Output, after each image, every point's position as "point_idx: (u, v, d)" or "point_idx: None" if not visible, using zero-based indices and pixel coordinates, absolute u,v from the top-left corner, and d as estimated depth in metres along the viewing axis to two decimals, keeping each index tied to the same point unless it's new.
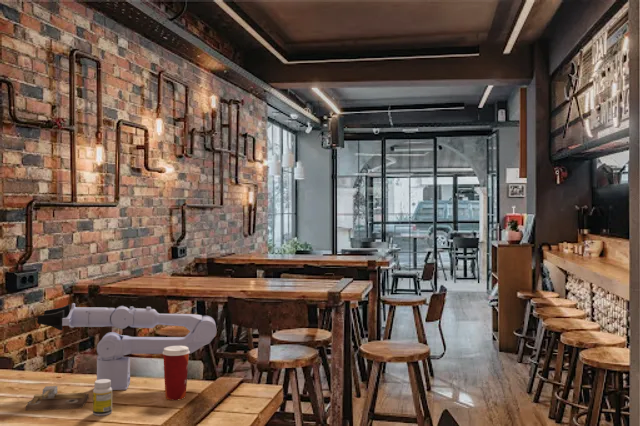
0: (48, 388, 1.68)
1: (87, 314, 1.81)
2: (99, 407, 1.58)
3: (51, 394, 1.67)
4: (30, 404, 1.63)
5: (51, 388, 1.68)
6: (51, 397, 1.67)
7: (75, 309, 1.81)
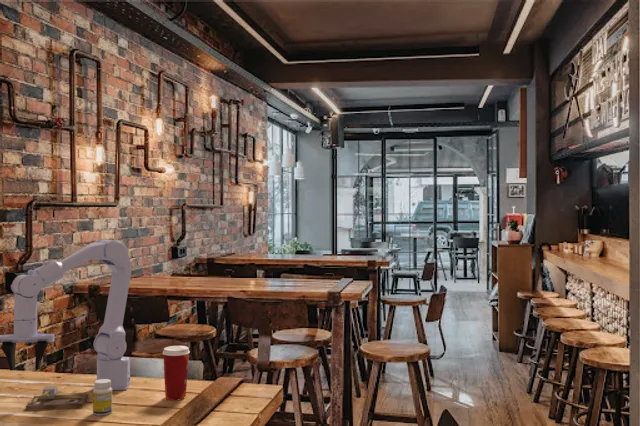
0: (48, 388, 1.68)
1: (34, 320, 1.67)
2: (99, 407, 1.58)
3: (51, 394, 1.67)
4: (30, 404, 1.63)
5: (51, 388, 1.68)
6: (51, 397, 1.67)
7: (27, 335, 1.65)
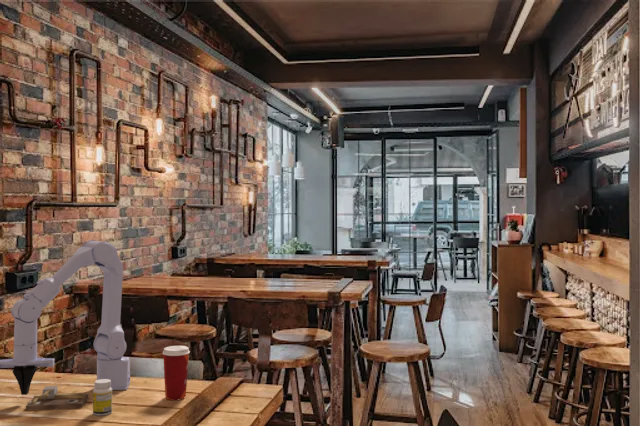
0: (48, 388, 1.68)
1: (34, 345, 1.67)
2: (99, 407, 1.58)
3: (51, 394, 1.67)
4: (30, 404, 1.63)
5: (51, 388, 1.68)
6: (51, 397, 1.67)
7: (27, 360, 1.65)
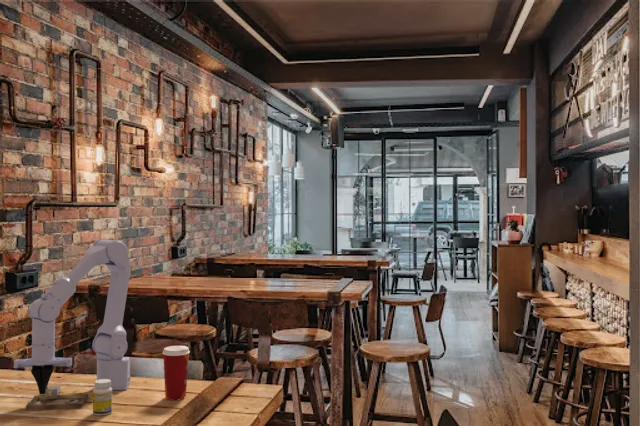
0: (51, 388, 1.68)
1: (52, 345, 1.68)
2: (99, 407, 1.58)
3: (54, 394, 1.67)
4: (30, 404, 1.63)
5: (54, 388, 1.68)
6: (54, 397, 1.67)
7: (46, 359, 1.66)
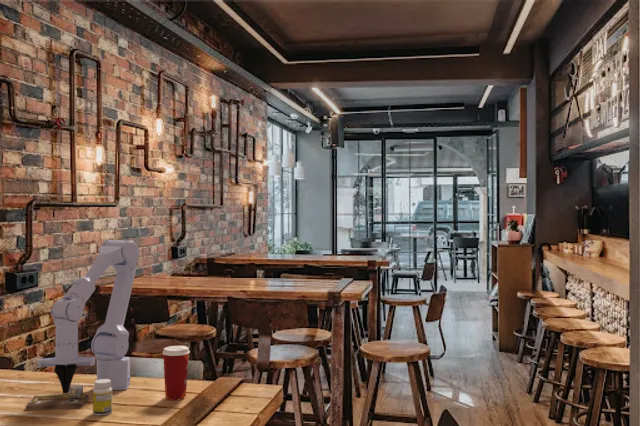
0: (74, 387, 1.69)
1: (75, 344, 1.69)
2: (99, 407, 1.58)
3: (77, 393, 1.68)
4: (30, 404, 1.63)
5: (77, 387, 1.69)
6: (77, 396, 1.68)
7: (69, 358, 1.67)
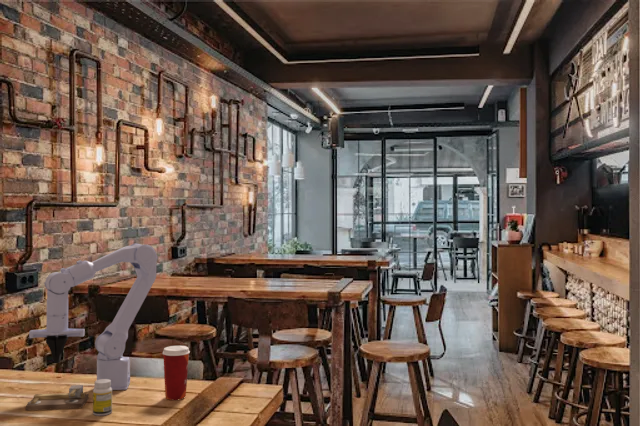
0: (74, 387, 1.69)
1: (65, 316, 1.75)
2: (99, 407, 1.58)
3: (77, 393, 1.68)
4: (30, 404, 1.63)
5: (77, 387, 1.69)
6: (77, 396, 1.68)
7: (60, 329, 1.74)
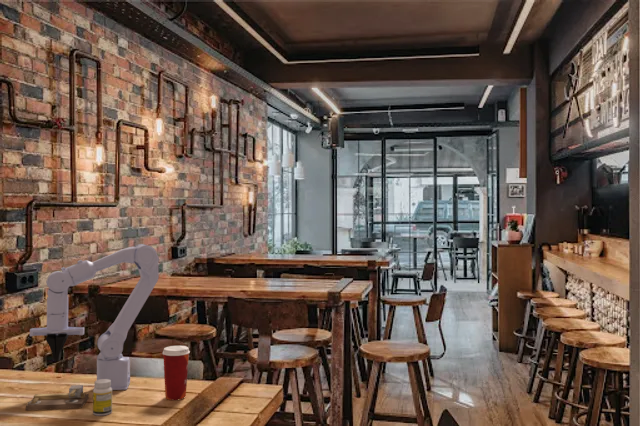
0: (74, 387, 1.69)
1: (65, 314, 1.77)
2: (99, 407, 1.58)
3: (77, 393, 1.68)
4: (30, 404, 1.63)
5: (77, 387, 1.69)
6: (77, 396, 1.68)
7: (60, 328, 1.76)
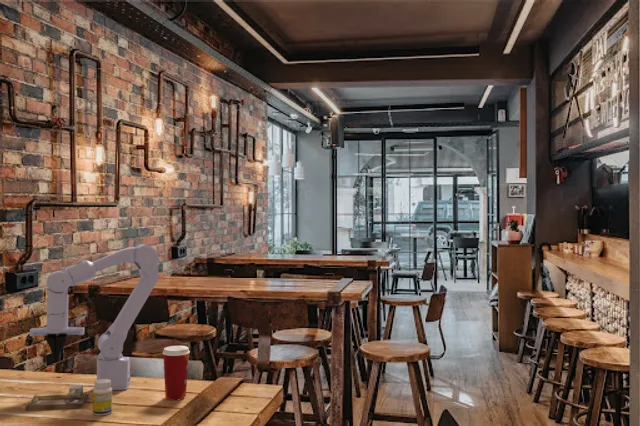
0: (74, 387, 1.69)
1: (65, 314, 1.77)
2: (99, 407, 1.58)
3: (77, 393, 1.68)
4: (30, 404, 1.63)
5: (77, 387, 1.69)
6: (77, 396, 1.68)
7: (60, 328, 1.76)
